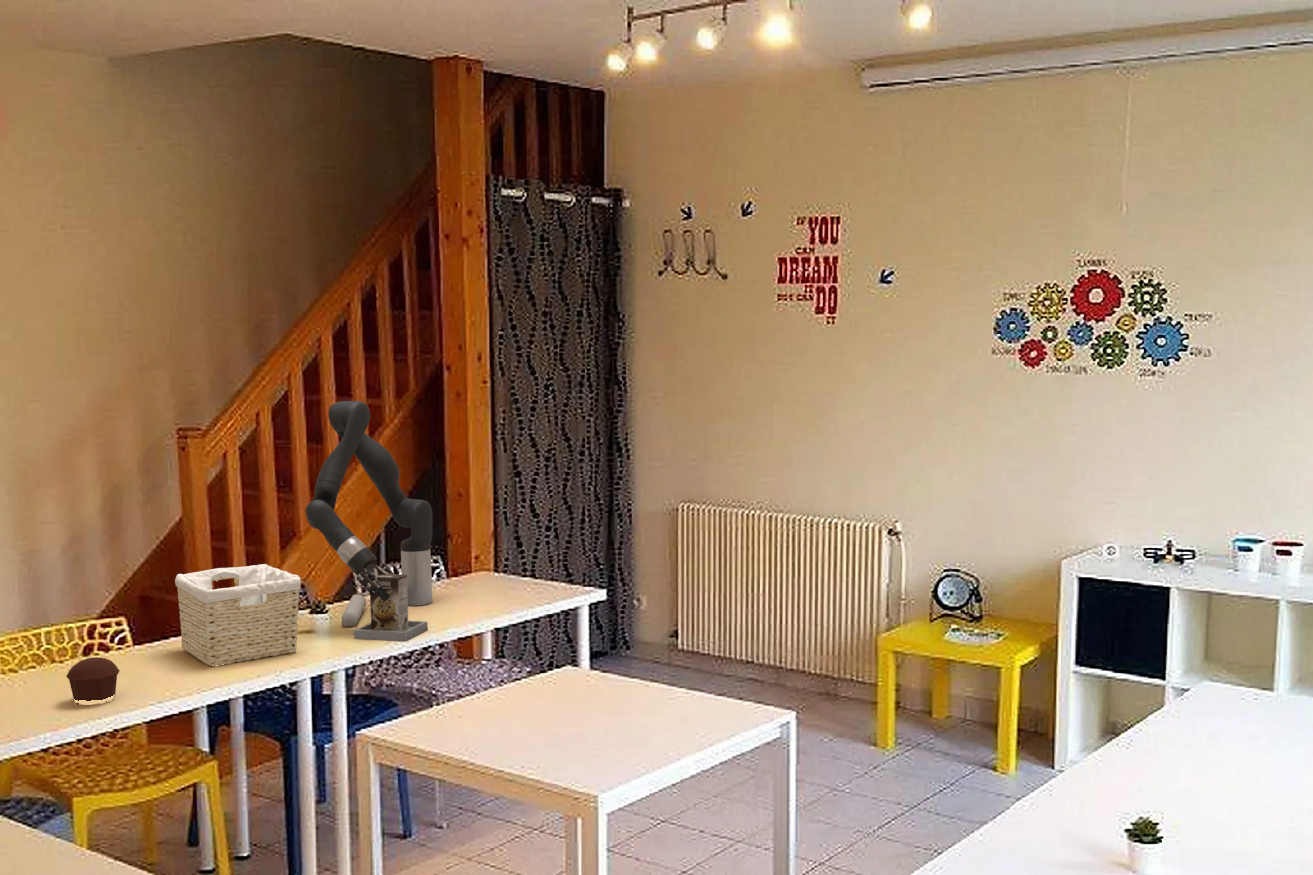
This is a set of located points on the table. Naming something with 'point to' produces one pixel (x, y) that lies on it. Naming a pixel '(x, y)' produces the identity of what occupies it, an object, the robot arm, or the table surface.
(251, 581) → the basket
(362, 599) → the tube
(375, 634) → the dish
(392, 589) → the coffee box
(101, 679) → the muffin
